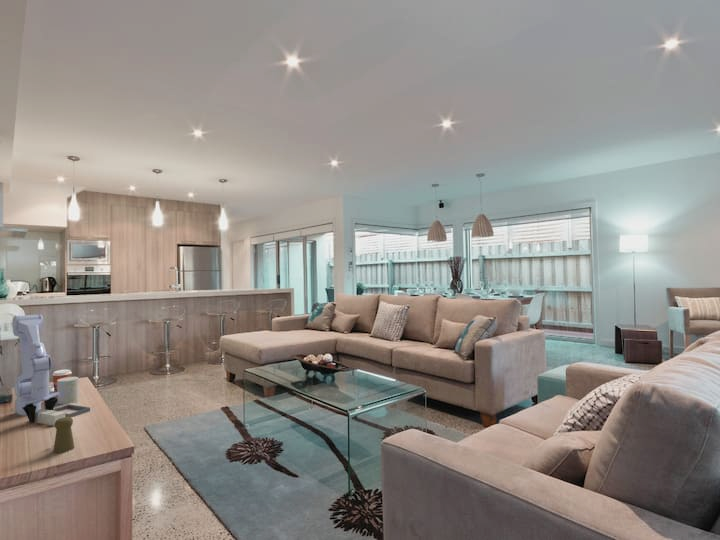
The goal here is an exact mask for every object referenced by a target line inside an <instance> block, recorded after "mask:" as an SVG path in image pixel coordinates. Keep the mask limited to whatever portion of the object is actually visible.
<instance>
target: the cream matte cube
mask: <svg viewBox="0 0 720 540" xmlns="http://www.w3.org/2000/svg"><path fill="white" fill-rule="evenodd" d="M46 411H49V410H47V409H45V408H41V409H40V410H36V411H35V422H37V423H39V422H40V413H42V412H46Z"/></svg>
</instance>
